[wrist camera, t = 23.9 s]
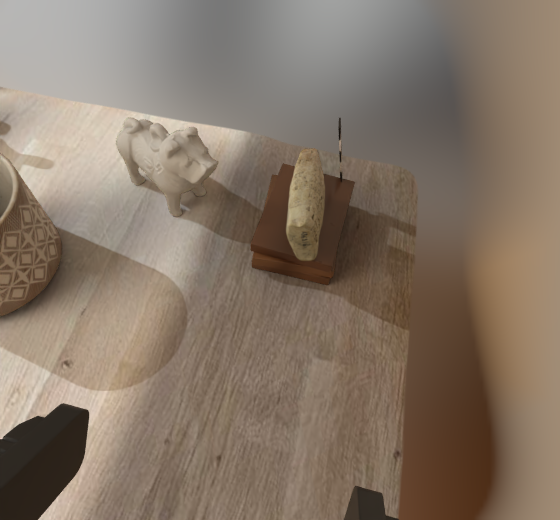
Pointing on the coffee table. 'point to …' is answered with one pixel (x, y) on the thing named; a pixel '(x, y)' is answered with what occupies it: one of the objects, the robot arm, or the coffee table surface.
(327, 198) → the slab pile
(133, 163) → the dog figurine
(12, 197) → the planter
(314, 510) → the coffee table surface
